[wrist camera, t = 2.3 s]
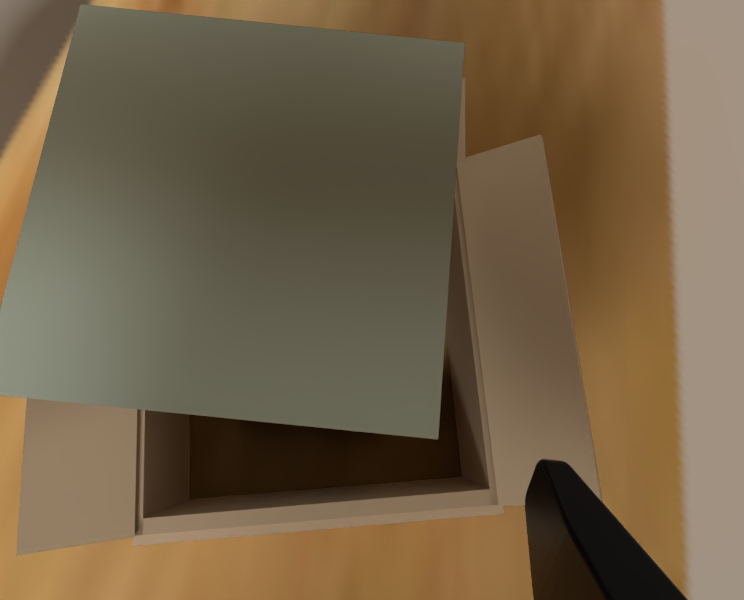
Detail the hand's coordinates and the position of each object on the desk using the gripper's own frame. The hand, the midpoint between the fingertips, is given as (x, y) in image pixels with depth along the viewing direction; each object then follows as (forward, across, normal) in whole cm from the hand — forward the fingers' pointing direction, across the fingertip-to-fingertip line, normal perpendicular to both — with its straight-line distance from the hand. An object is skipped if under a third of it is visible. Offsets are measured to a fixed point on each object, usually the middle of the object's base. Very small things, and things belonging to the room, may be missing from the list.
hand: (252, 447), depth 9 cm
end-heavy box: (+9, 0, +5) cm, 11 cm away
